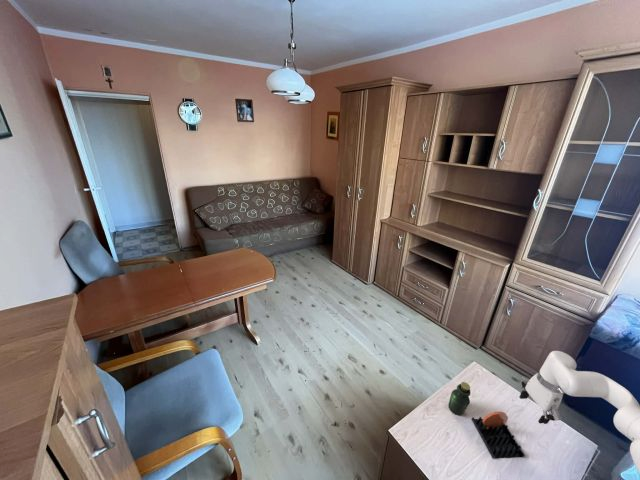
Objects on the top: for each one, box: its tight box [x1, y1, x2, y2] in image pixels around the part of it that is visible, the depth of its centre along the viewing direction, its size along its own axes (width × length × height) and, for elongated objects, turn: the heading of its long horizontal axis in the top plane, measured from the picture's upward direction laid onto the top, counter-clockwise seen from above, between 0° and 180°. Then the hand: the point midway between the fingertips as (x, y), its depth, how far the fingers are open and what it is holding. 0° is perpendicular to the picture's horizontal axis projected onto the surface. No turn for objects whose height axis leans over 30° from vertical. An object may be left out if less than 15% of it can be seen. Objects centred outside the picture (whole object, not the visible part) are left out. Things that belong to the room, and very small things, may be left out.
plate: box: [482, 411, 509, 429], centre depth 120 cm, size 1×11×12 cm, turn 93°
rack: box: [471, 416, 526, 460], centre depth 118 cm, size 16×14×5 cm
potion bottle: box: [447, 381, 471, 417], centre depth 126 cm, size 8×8×18 cm
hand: (532, 409), depth 105 cm, fingers open, 9 cm apart
